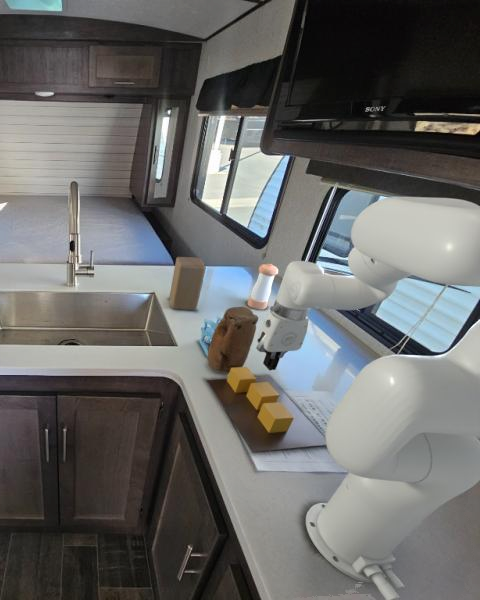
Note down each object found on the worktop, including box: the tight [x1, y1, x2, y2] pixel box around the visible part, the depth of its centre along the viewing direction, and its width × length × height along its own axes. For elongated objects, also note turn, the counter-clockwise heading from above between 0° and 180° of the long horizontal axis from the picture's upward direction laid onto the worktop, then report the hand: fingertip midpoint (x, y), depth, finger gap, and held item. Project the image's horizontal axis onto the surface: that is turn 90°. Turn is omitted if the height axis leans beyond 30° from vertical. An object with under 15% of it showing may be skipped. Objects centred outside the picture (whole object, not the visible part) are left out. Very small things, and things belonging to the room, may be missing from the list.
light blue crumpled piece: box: [199, 316, 223, 357], centre depth 107 cm, size 8×8×12 cm
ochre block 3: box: [258, 402, 294, 433], centre depth 81 cm, size 5×5×5 cm
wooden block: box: [168, 256, 207, 311], centre depth 131 cm, size 10×10×20 cm
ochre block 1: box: [226, 366, 257, 393], centre depth 93 cm, size 5×5×5 cm
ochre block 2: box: [246, 382, 279, 410], centre depth 87 cm, size 5×5×5 cm
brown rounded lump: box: [207, 306, 259, 373], centre depth 97 cm, size 11×8×20 cm
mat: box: [206, 375, 327, 453], centre depth 87 cm, size 24×20×1 cm
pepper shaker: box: [246, 263, 279, 311], centre depth 132 cm, size 7×7×19 cm
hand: (268, 366), depth 89 cm, fingers closed
